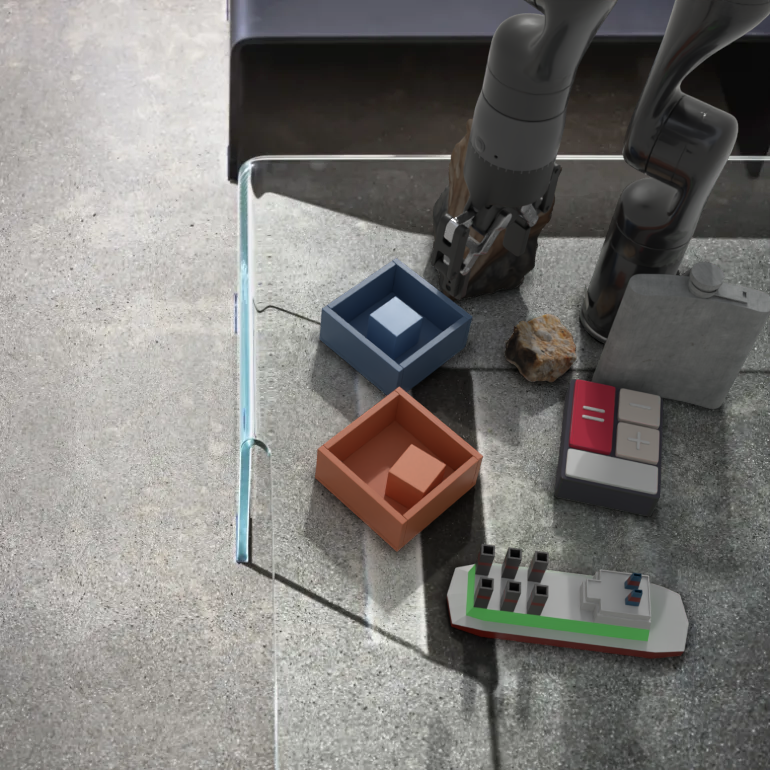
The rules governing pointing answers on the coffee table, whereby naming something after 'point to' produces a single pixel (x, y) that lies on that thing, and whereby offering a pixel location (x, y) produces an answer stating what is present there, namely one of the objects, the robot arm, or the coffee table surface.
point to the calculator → (610, 448)
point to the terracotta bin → (381, 451)
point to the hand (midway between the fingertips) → (483, 271)
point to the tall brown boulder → (498, 262)
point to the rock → (541, 348)
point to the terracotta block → (413, 477)
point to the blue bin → (440, 314)
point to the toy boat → (566, 607)
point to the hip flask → (682, 335)
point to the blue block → (394, 328)
